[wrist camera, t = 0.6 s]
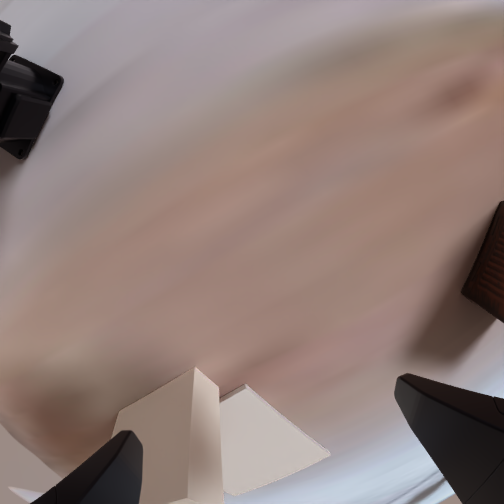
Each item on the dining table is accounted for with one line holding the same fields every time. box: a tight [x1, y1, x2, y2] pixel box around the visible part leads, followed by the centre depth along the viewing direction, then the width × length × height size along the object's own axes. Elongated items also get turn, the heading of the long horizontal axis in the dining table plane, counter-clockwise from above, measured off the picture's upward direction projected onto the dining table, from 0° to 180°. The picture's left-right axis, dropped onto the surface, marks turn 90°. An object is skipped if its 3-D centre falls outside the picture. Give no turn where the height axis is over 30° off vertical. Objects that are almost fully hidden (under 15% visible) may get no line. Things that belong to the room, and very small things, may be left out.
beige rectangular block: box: [111, 367, 224, 504], centre depth 18 cm, size 3×10×12 cm, turn 126°
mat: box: [219, 384, 331, 496], centre depth 27 cm, size 16×14×1 cm
